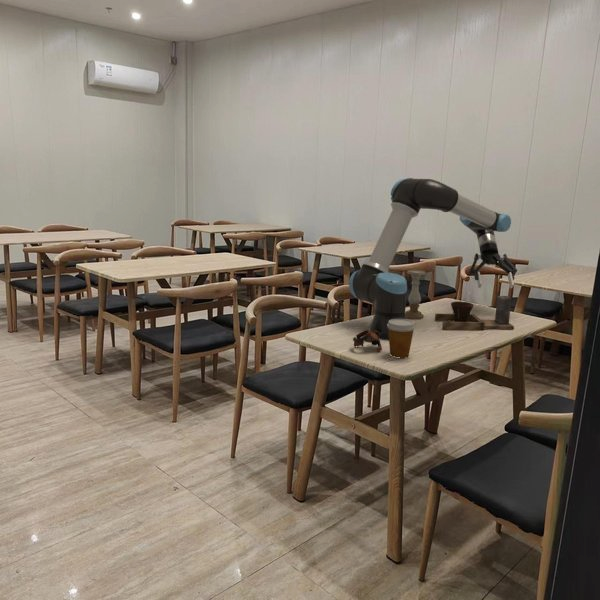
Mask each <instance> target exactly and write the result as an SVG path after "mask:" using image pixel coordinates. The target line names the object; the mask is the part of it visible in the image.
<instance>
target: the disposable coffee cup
mask: <svg viewBox="0 0 600 600" xmlns="http://www.w3.org/2000/svg"><path fill="white" fill-rule="evenodd" d="M387 326H388V332H389V340H388V343H389V345H388V346H389V355H390V354H391V355H392V356H395V357H400V358H399V359H401V358H402V359H406V358H405V357H407V358H409V357H410V351H411V345H412V341H413V336H414V331H415V328H416V325H415V322H414V321H413V320H412V319H411V320H410V319H407V318H406V319H392V320H389V322H388V324H387ZM392 356H391V357H392Z"/></svg>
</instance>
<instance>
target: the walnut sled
mask: <svg viewBox="0 0 600 600" xmlns="http://www.w3.org/2000/svg"><path fill="white" fill-rule="evenodd" d="M496 298H497V299H496V305H495V317H494V319H481V318H479V317H478V316H477V315H476V314H475V313H470V315H469V317H468V320H467V322H454V313H434V321H435V322H442V325H441V326H442V328H441V330H450V331H451V330H456V331H457V330H458V331H461V330H463V331H484V330H485V329H486V330H514V329H515V326H514V325H513V324H511V323H510V317H511V316H510V315H511V306H512V298H511V297H510V296H508V295H497V297H496Z"/></svg>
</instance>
